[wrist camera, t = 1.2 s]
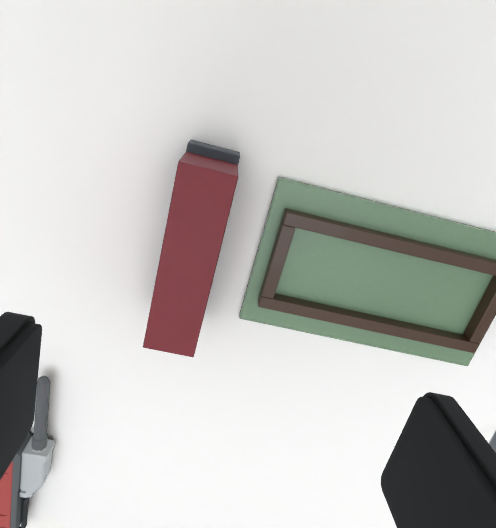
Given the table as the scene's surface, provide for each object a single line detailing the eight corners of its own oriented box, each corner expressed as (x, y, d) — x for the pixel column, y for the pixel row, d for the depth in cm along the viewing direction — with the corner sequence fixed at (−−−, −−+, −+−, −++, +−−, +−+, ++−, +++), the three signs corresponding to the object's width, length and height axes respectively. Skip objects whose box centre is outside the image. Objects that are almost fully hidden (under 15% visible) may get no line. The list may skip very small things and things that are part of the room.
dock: (278, 176, 31) (280, 181, 29) (530, 240, 34) (545, 249, 32) (239, 315, 35) (239, 326, 34) (464, 362, 38) (475, 375, 36)
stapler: (190, 139, 30) (180, 150, 24) (239, 152, 30) (240, 166, 25) (157, 308, 35) (142, 350, 29) (199, 317, 35) (192, 359, 30)
